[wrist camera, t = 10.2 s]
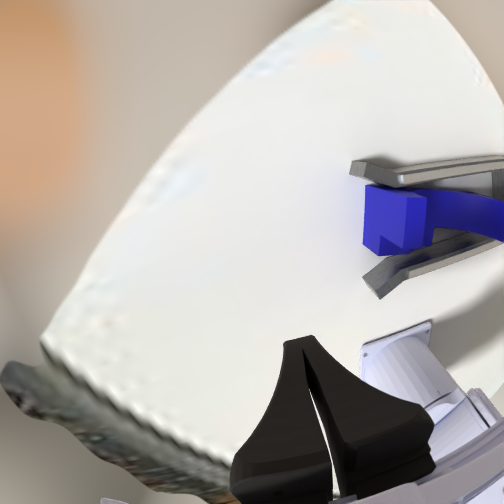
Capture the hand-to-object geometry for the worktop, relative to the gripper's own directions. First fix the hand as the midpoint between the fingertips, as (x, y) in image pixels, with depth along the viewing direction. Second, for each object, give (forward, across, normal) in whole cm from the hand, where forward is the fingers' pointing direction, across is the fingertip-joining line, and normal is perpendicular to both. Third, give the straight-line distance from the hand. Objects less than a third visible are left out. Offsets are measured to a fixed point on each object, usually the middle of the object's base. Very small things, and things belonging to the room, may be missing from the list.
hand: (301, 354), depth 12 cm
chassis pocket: (+9, -16, -2) cm, 19 cm away
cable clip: (+10, -13, -2) cm, 17 cm away
